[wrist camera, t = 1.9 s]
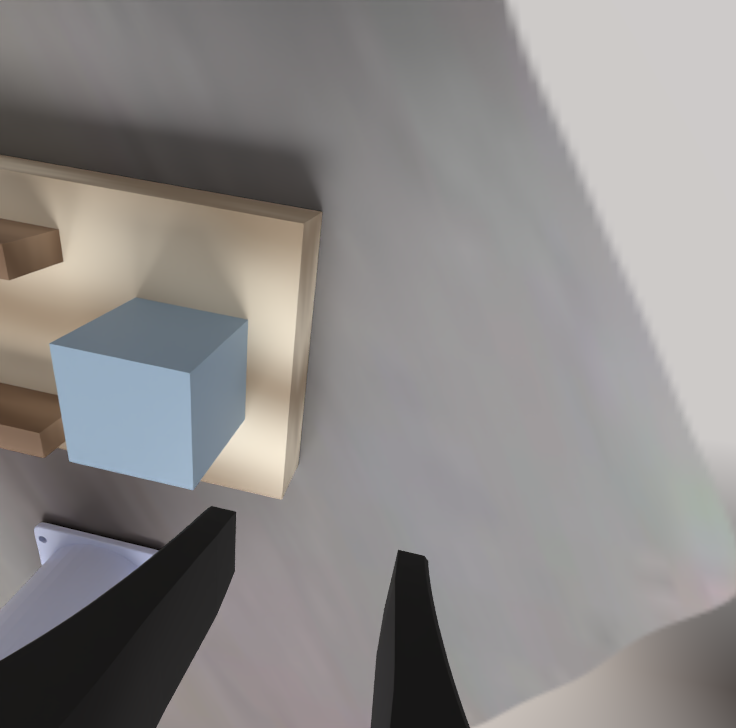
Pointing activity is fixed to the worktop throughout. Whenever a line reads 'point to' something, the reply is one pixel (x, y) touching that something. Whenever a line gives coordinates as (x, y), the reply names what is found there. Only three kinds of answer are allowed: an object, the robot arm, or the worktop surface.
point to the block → (152, 390)
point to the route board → (155, 296)
